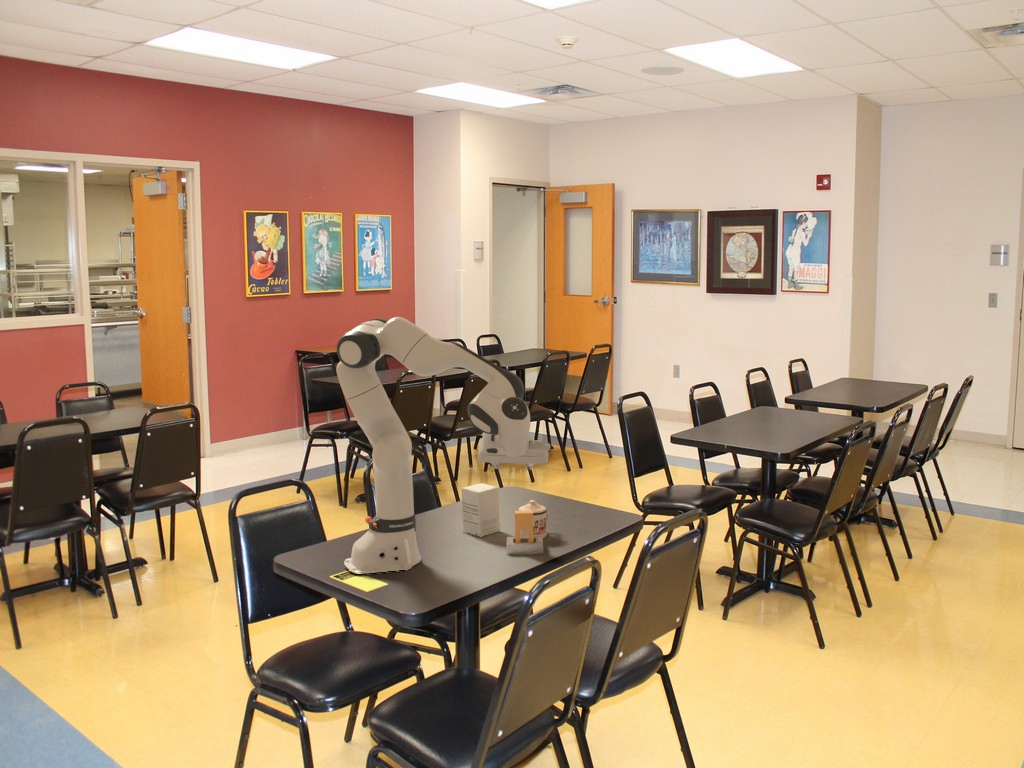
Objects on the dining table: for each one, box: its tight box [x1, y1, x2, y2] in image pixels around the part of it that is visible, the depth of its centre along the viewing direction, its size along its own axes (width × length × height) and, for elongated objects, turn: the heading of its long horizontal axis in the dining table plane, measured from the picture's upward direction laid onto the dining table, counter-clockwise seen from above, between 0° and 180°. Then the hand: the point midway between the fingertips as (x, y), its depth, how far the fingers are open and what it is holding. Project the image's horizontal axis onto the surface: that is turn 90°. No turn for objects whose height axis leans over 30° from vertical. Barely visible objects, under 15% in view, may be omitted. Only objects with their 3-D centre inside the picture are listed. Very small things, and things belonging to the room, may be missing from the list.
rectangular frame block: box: [506, 536, 544, 555], centre depth 270 cm, size 8×11×3 cm
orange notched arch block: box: [514, 510, 534, 543], centre depth 269 cm, size 6×3×12 cm, turn 89°
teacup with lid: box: [517, 499, 549, 539], centre depth 284 cm, size 12×9×12 cm
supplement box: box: [461, 482, 501, 538], centre depth 289 cm, size 9×9×15 cm
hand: (512, 467), depth 257 cm, fingers open, 8 cm apart
